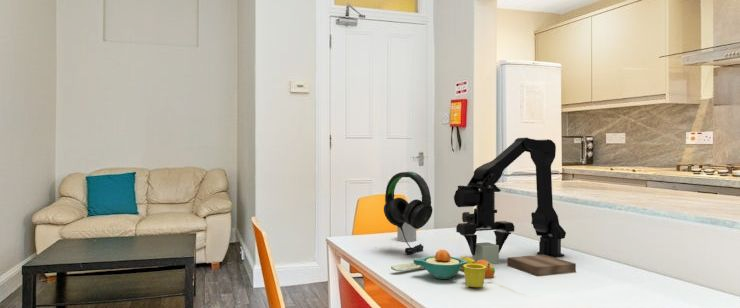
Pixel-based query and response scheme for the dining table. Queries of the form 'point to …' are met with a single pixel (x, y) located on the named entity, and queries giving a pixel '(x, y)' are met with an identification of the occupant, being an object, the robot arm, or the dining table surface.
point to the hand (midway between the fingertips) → (485, 254)
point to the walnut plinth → (541, 265)
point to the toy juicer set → (452, 267)
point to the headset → (408, 207)
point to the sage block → (487, 252)
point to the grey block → (406, 233)
